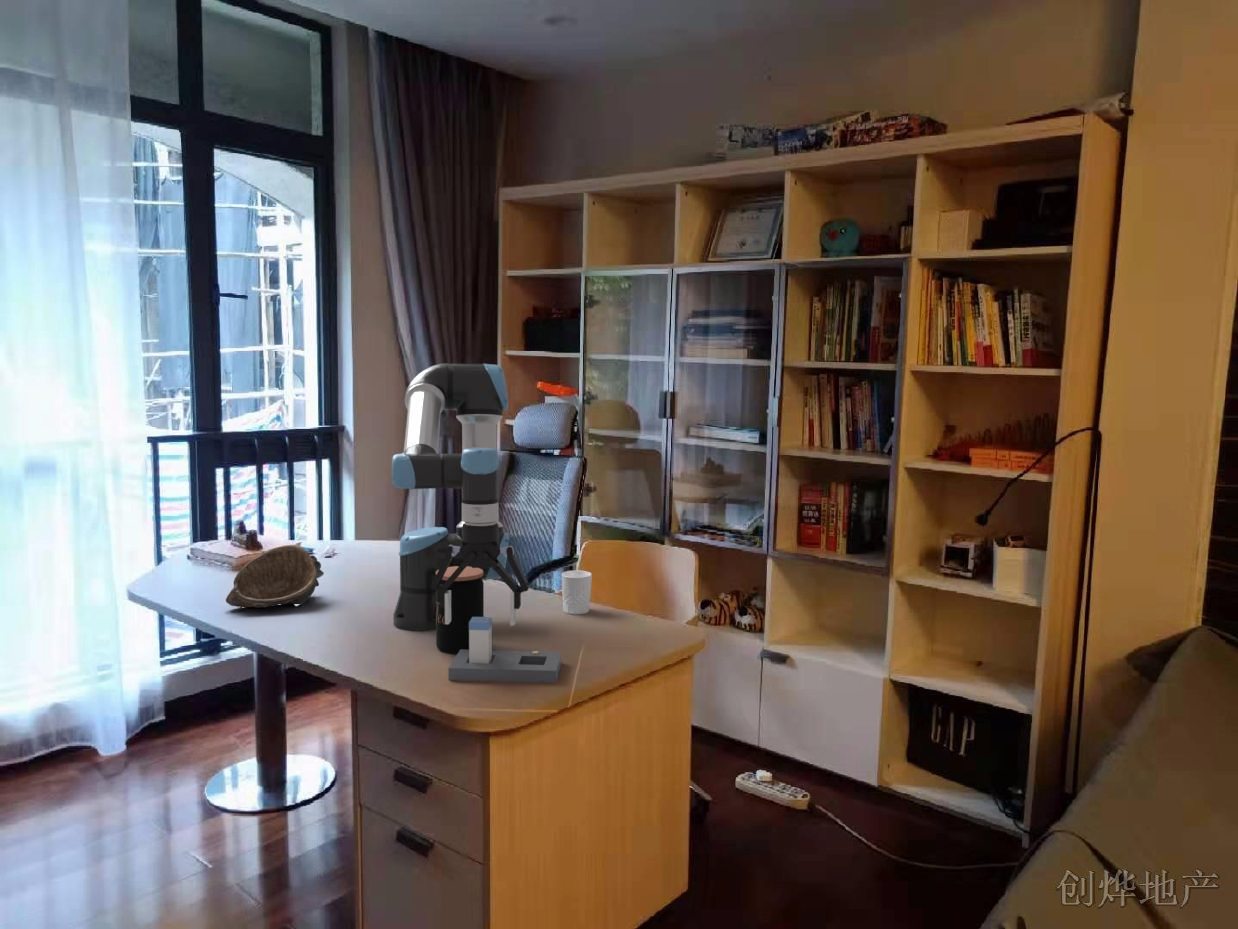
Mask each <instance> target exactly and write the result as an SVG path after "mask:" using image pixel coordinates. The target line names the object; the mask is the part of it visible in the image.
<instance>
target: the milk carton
mask: <svg viewBox="0 0 1238 929" xmlns="http://www.w3.org/2000/svg"><path fill="white" fill-rule="evenodd" d="M492 625H493V617H491V616H484V617H472V618H471V620H470V621H469V663H483V664H491V663H492V650H493V649H492V646H493V645H492V639H493V638H492V636H493V635H492V627H493V626H492Z"/></svg>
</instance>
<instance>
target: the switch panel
mask: <svg viewBox="0 0 1238 929" xmlns="http://www.w3.org/2000/svg"><path fill="white" fill-rule="evenodd" d="M561 666H562V651H544V650H541V651H540V650H503V649H501V650H499V649H498V650H497V649H492V663H491V664H483V663H469V650H465V649H460V651H459V652H458V654H456V655H455V657H454V658H453V660H452V662H451V663H450V665H449V667H448V668H447V670H448V671H447V672H448V675H447V676H448V681H463V682H464V681H469V682H506V683H507V682H508V683H509V682H510V683H539V684H540V683H541V684H542V683H546V684H549V683H550V684H555V683H557V680H558V678H559V674H560V673H559V672H560V669H561Z"/></svg>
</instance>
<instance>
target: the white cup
mask: <svg viewBox="0 0 1238 929" xmlns="http://www.w3.org/2000/svg"><path fill="white" fill-rule="evenodd" d="M592 576H593V574H592V573H591V572H590V571H587V570H586V571H585V570H579V569H578V570H566V571H563V572H561V593H562V594H561V595H562V609H563V612H564V613H566V614H569V615H583V614H588V613H589V611H590V601H591V592H592Z"/></svg>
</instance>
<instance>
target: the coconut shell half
mask: <svg viewBox="0 0 1238 929" xmlns="http://www.w3.org/2000/svg"><path fill="white" fill-rule="evenodd" d="M321 568H322V564H321V562H320V561H318V558H317V557H316V556H315V555H310V553H309V552H307V550H306V549H305V548H304V547H302V546H298V545H294V544H286V545H281V546H280V545H279V546H278V547H273V548H271V549H268V550H267V551H265V552H262V553H261V554H259V555H257V556H256V557H254V558H253V559H251V560H250V561H248V562H247V563H246V564H245V565H243V567H242V568H240V570H239V572H237V574H236V575H235V577H234V580H233V588H232V589H231V591H230V592H228V595H227V596H226V598H225V602H226V603H227V604H228V605H229V606H232V607H237V608H241V607H255V608H254V609H258V608H259V609H261V608H262V607H263V608H269V606H270V607H274V606H279V605H278V604H281V605H280V606H284V605H288V604H292V603H293V605H294V604H301V603H303V604H305V602H307V601H308V599H309V598H311V597H312V595H313V594H314V593H315V589H316V588H317V587H319V586H320V583H319V580H318V579H320V578H321V577H322V576H324V574H325V573H324V571H323V570H321Z"/></svg>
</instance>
